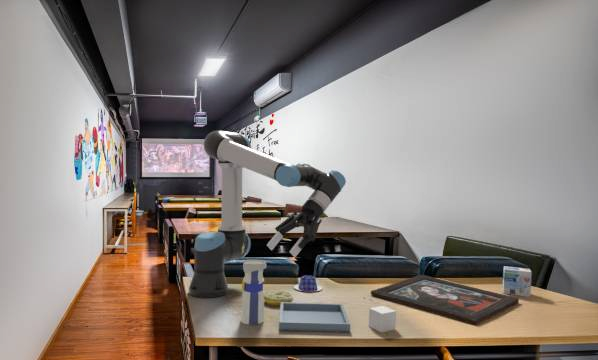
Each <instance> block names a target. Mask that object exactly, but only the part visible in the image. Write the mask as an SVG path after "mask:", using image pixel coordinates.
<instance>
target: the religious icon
mask: <svg viewBox="0 0 598 360" xmlns="http://www.w3.org/2000/svg"><path fill="white" fill-rule="evenodd" d="M370 294H371V295H372V296H373V297H377V298H380V299H383V300H386V301H389V302H394V303H397V304H400V305H404V306H408V307H411V308H414V309H417V310H422V311H426V312H428V313H431V314H436V315H439V316H443V317H447V318H449V319H454V320H457V321H460V322H464V323H467V324H471V325H475V326H476V325H479V324H481V323H483V322H485V321H487V320H489V319H490V318H493V317H495V316H496V315H498V314H499V313H502V312H504V311H506V310H508V309H510V308H512V307H513V306H515V305H518V304H519V300H520V298H518V297H515V296H511V295H508V294H507V295H506V294H504V293H503V294H502V293H497V292H493V291H490V290H484V289H481V288H478V287H473V286H469V285H465V284H461V283H456V282H452V281H450V280H449V281H448V280H445V279H440V278H436V277H432V276H429V275H425V274H423V275H422V274H419V275H416V276H413V277H409V278H406V279H404V280H400V281H399V282H395V283H391V284H389V285H385V286H383V287H379V288H376V289H373V290H371V291H370Z"/></svg>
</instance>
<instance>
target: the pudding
mask: <svg viewBox="0 0 598 360" xmlns="http://www.w3.org/2000/svg"><path fill="white" fill-rule="evenodd" d="M316 279H317V278H316V277H315V276H313V275H302V276H301V278H300V279H299V284H295V285H293V288H294V289H295V290H296V291H297V290H298V291H301V292H311V293H313V292H318V291H322V289H323V287H322V286H321V285H319V284H317V280H316Z"/></svg>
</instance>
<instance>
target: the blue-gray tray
mask: <svg viewBox="0 0 598 360" xmlns="http://www.w3.org/2000/svg"><path fill="white" fill-rule="evenodd" d="M278 331H281V332H312V333H315V332H316V333H317V332H319V333H346V334H347V333H348V334H349V333H351V322H350V319H349V318H348V314H347V312H346V310H345V307H344V304H343V303H324V302H321V303H318V302H293V301H291V302H281V305H280V306H279V320H278Z"/></svg>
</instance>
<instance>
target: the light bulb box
mask: <svg viewBox="0 0 598 360" xmlns="http://www.w3.org/2000/svg"><path fill="white" fill-rule="evenodd" d="M502 270H503V272H502V293H503V295H506V294H507V295H510V296H511V295H513V296H519V297H527V298H531V293H532V292H531V290H532V274H533V272H532V271H531V269H530V268H524V267H523V268H522V267H514V266H505V265H504V266H503V269H502Z"/></svg>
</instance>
